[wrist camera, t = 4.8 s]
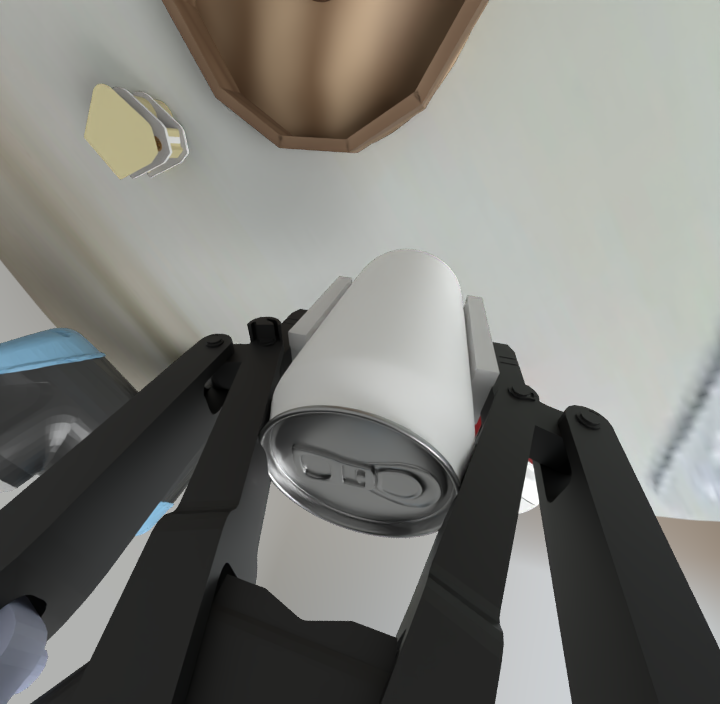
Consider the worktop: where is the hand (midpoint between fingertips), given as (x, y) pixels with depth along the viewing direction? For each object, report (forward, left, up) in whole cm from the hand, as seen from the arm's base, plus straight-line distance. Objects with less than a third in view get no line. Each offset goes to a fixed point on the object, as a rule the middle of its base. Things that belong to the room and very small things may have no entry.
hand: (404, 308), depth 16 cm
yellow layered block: (-27, +7, -15) cm, 32 cm away
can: (0, 0, -1) cm, 1 cm away
